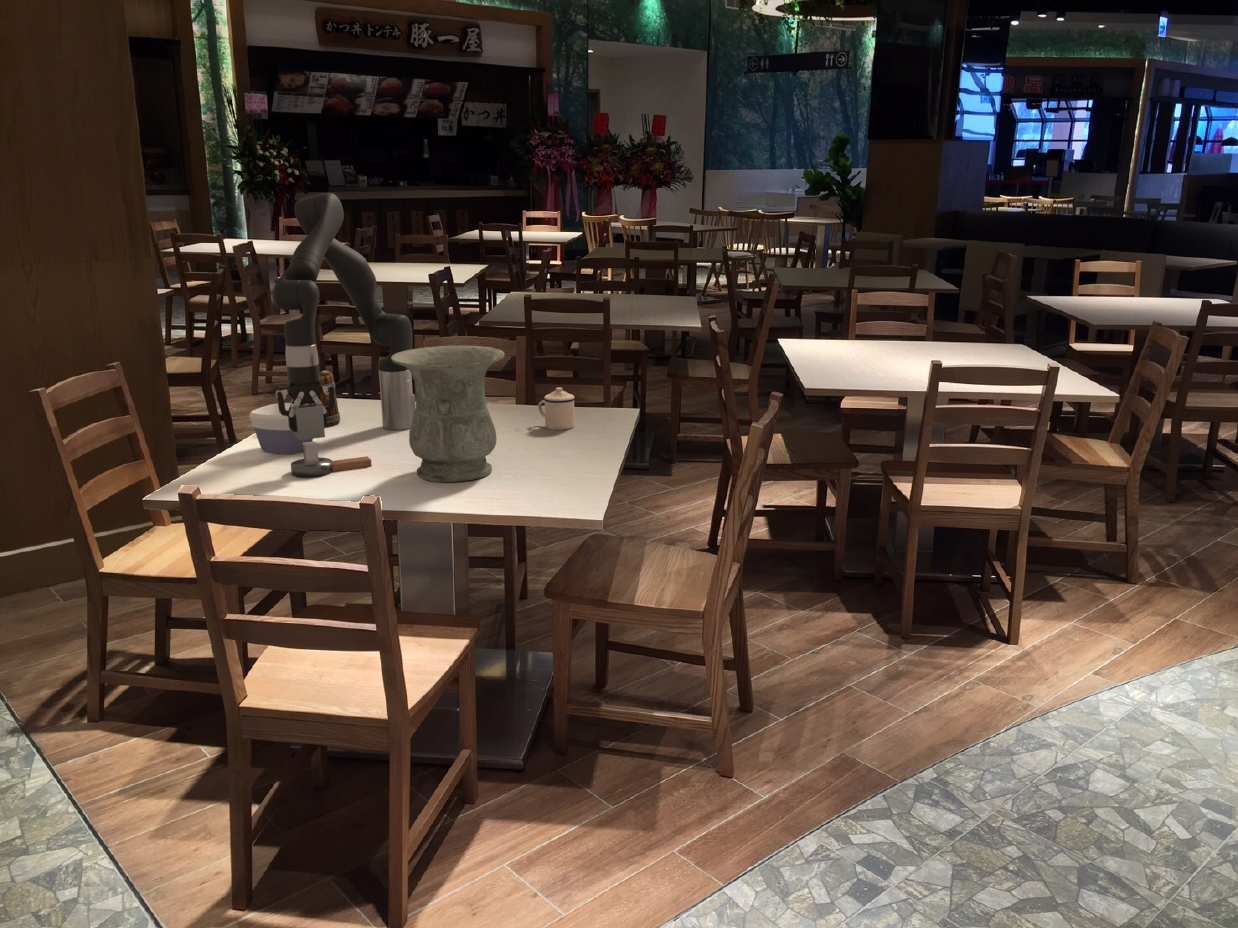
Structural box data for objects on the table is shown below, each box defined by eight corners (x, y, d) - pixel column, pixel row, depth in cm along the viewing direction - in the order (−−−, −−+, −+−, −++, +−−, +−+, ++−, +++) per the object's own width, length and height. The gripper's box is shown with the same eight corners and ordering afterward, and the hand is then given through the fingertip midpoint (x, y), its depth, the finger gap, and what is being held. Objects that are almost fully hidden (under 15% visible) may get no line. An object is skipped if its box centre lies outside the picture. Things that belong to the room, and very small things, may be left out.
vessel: (383, 486, 245) (374, 362, 237) (419, 457, 270) (412, 344, 262) (493, 490, 241) (488, 364, 233) (519, 460, 267) (515, 346, 259)
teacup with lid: (581, 425, 304) (580, 386, 301) (564, 431, 297) (563, 392, 293) (547, 420, 310) (547, 382, 307) (530, 426, 302) (529, 388, 299)
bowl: (245, 453, 275) (240, 413, 272) (281, 440, 289) (278, 401, 286) (292, 458, 270) (289, 417, 267) (327, 444, 284) (324, 405, 281)
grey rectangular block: (319, 431, 259) (316, 400, 257) (325, 437, 253) (322, 405, 251) (293, 434, 256) (290, 403, 254) (298, 440, 250) (295, 408, 248)
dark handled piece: (364, 460, 268) (362, 432, 266) (374, 469, 259) (372, 440, 257) (287, 470, 259) (285, 441, 257) (296, 480, 251) (293, 450, 249)
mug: (335, 428, 302) (330, 378, 298) (299, 428, 303) (294, 378, 298) (349, 416, 317) (345, 368, 313) (315, 416, 318) (311, 368, 314)
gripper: (328, 358, 256) (334, 423, 261) (269, 363, 250) (275, 429, 254) (335, 362, 250) (341, 429, 254) (274, 368, 243) (281, 436, 248)
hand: (308, 429), depth 254 cm, fingers closed on grey rectangular block, 6 cm apart
